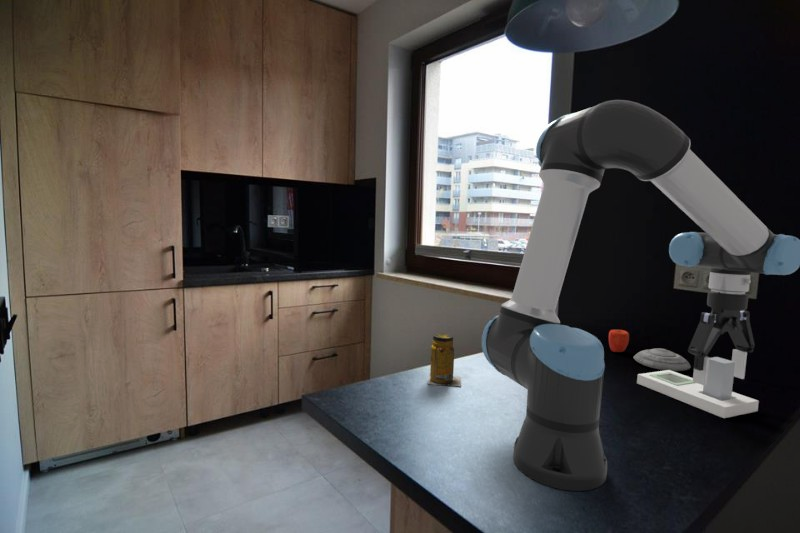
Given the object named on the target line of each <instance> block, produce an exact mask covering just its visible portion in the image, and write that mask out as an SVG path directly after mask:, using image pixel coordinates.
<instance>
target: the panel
mask: <svg viewBox="0 0 800 533" xmlns="http://www.w3.org/2000/svg"><path fill="white" fill-rule="evenodd" d="M636 384H638V385H641V386H643V387H646V388H648V389H650V390H652V391H655V392H658V393H660V394H663V395H666V396H667V397H670V398H673V399H675V400H678V401H680V402H683V403H685V404H686V405H687V404H688V405H689V406H692V407H694V408H698V409H700V410H702V411H704V412H707V413H709V414H712V415H714V416H717V417H719V418H723V419H726V418H732V417H737V416H740V415H746V414H751V413H756V412H758V411H759V403H760V401H759V400H758V399H755V398H752V397H749V396H746V395H743V394H740V393H737V392H735V391H732V396H731V399H729V400H724V401H721V400H718V399H715V398H712V397H710V396H707V395H704V394H703V385H701V384H698V383H696V382H693V377H690V376H689V375H686V374H685V375H684V374H682V373H679V372H678V371H671V370H660V371H659V370H658V371H652V372H651V371H650V372H646V373H645V372H643V373H638V374H637V378H636Z"/></svg>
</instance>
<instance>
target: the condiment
mask: <svg viewBox="0 0 800 533" xmlns="http://www.w3.org/2000/svg"><path fill="white" fill-rule="evenodd" d="M430 353H431V354H430V368H429V369H430V374H428V381H427V384H428V385H435V386H452V387H462V376H455V375H454V370H455V369H454V367H455V365H454V364H455V346H454V336H453V335H450V334H448V333H437V334H434V335H433V337H432V345H431V348H430Z"/></svg>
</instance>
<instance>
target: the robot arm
mask: <svg viewBox="0 0 800 533" xmlns="http://www.w3.org/2000/svg"><path fill="white" fill-rule="evenodd" d="M535 156H536V159H537V160H538V165H539V167H540V170H539V174H538V175H539V178H540V180H541V181H542V182H543V188H542V191H541V193H540V198H539V201H538V204H537V208H536V212H535V215H534V218H533V222H532V226H531V230H530V233H529V237H528V240H527V244H526V247H525V251H524V252H523V257H522V261H521V264H520V267H519V271H518V274H517V277H516V281H515V285H514V287H513V288H514V289H513V292H512V295H511V298H510V299H509V300H507V301H505V302H503V303H502V304H501V306H500V309H499V313H498V315H495V316H494V317H493V318H492V319H491V320H489V321H488V322H487V324H486V325H485V327H484V328H483V332H482V333H481V334H482V335H481V348H482V349H481V350H482V353H483V355H484V357H485V359H486V361H487V362H488V363H489V364H490V365H491V366H492V367H493V368H494V369H495V370H496V371H497V372H498V373H499V374H501V375H503V376H506V377H507V378H509V379H510V380H512V381H513V382H515V383H517V384H518V385H520V387H523V388H525V389H526V390H527V394H526V411H525V412H526V413H525V417H524V420H523V422H522V425H521V428H520V432H519V434H518V436H517V437H516V438H515V440H514V444H513V455H512V459H513V462H514V464H515V466H516V467H517V468H518V470H520V471H521V472H522V473H523V474H524V475H526V476H527V477H529V478H530V479H531V480H534V481H535V482H538V483H540V484H543V485H546V486H548V487H551V488H556V489H559V490H565V491H576V492H580V491H590V490H594V489H596V488H600V486H602V485H603V484H605V482H606V480H607V477H608V476H607V475H608V460H607V457H606V455H605V453H604V447H603V442H602V438H601V434H600V430H599V427H600V415H601V413H600V412H601V405H602V395H603V386H604V384H603V383H604V376H605V375H604V374H605V368H606V364H605V360H604V359H605V351H604V345H603V344H602V342H601V340H600V339H598V337H597V336H596V335H594V334H591V333H590V332H588V331H586V330H583V329H581V328H577V327H570V326H569V325H565V324H561V321H560V319H559V317H558V315H557V313H556V308H557V305H558V303H559V302H558V301H559V297H560V295H561V291H562V287H563V284H564V281H565V276H566V273H567V270H568V267H569V263H570V259H571V256H572V252H573V250H574V246H575V242H576V239H577V237H578V233H579V229H580V225H581V221H582V219H583V215H584V212H585V208H586V206H587V205H586V204H587V201H588V197H589V195H590V194H591V193H592V192H593V191H595V190H597V189H599V188H600V186H601V184H602V179H603V176H604V173H605V170H608V169H609V170H610V169H622V170H626V171H628V172H630V173H631V174H633V175H634V176H635V177H636V178H637V179H638V180H640V181H643V182H650V183H652V184H653V185H654V186H655V187H656V188H657V189H659V190H660V191H661V193H662V194H664V195H665V197H667V198H668V199H669V200H671V201H672V203H673V204H674V205H676V206H677V208H679V209H680V210H681V211H682V212H684V213H685V215H686V216H688V218H690V219H691V220H692V221H693V222H694V223H695V224H696V225H697V226H698V227H700V229H701V230H703V231H704V232H699V231H698V232H697V231H689V232H681V233H678V234H676V235H675V236H674V237H673V238H672V239H671V241H670V243H669V247H668V253H669V258H670V259H671V260H672V262H673V263H675V264H676V265H678V266H682V267H688V268H694V267H699V268H709V270H710V271H709V278H708V289H710V290H709V291H708V292H707V297H706V298H707V299H706V305H707V307H709V308H711V312H709V313H708V312H704V311H703V312H701V314H700V319H699V323H698V325H697V328H696V330H695V332H694V334H693V337H692V339H691V341H690V343H689V346H688V348H687V352H688V353H690V354H691V355H694V360H693V373H692V374H693V375H692V378H693V382H696V383H698V384H701V385H704V386H705V385H707V376H708V366H709V358H710V357H709V356H708V354H709V353H710V352H711V350H712V348H713V346H714V345H715V344H716V343H717V341H718V338H720V336H721V335H724V333H727V332H728V334H729V335H728V336H730V338H731V341H732V343H733V345H734V347H735V349H734V348H733V349H732V356H731V361H734V362H735V369H734V378H738V379H741V380H745V376H746V366H747V356H748V353H753V352H754V348H755V340H754V339H755V338H754V337H753V336H754V335H753V330H752V326H751V322H750V317H751V316H750V311H749V310H747V309H748V304H749V303H748V302H749V295H748V294H747V292H749V291H750V283H752V281H751V274H752V273H757V274H764V275H766V276H769V275H778V276H781V275H782V276H786V275H791V274H793V273H795V272H796V271H797V270H798V269H799V268H800V239H799V238H798V237H796V236H793V235H785V234H784V233H780V234H774V233H773V232H772V231H771V230H770V229H769V228H768V227H767V225H765V224H764V223H763V222H762V221H761V219H759V217H757V216H756V214H755V213H754V212H752V210H751V209H750V208H748V206H747V205H746V204H745V203H744V202H743V201H741V199H739V198H738V196H737V195H736V194H735V193H734V192H733V191H732V190H731V189H730V188H729V187H728V186H727V185H726V184H725V182H723V181H722V180H721V179H720V178H719V177H718V176H717V175H716V174H715V173H714V172H713V171H712V170H711V169H710V168H709V167H708V166H707V165H706V164H705V163H704V161H702V159H700V157H698V156H697V155H696V153H694V152H693V151H692V149H691V139H690V138H689V136H688V135H687V134H686V133H685V132H684V131H683V130H682V129H681V128H679V126H677V125H676V124H675V123H674V122H672V121H671V120H670V119H668V117H666V116H664V115H662V114H661V113H660V112H658V111H656V110H655V109H652V108H651V107H649V106H646V105H644V104H641V103H639V102H635V101H631V100H626V99H612V100H606V101H603V102H601V103H598V104H597V105H594V106H592V107H588V108H586V109H583V110H580V111H577V112H571V113H567V114H564V115H562V116H560V117H558V118H557V119H555V120H553V121H552V122H550V123H549V124H547V126H546V127H545V128H544V129H543V130H542V131H541V133H540V135H539V136H538V138H537V142H536V146H535Z"/></svg>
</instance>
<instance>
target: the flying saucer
mask: <svg viewBox="0 0 800 533" xmlns="http://www.w3.org/2000/svg"><path fill="white" fill-rule="evenodd" d="M633 359H634V360H635V361H636V363H638V364H641V365H643V366H645V367H649V368H652V369H655V370H660V371H665V370H671V371H674V372H683V371H688V370H690V369H691V368H692V366H691V364H690V363H689V361H688V360H687V358H686V359H685V358H684V357H683V356H682V355H680V354H678V353H675V352H674V351H671V350H668V349H666V348H660V347H659V348H658V347H657V348H651V349H644V350H640V351H639V352H637V353H636V354H635V355H634V356H633Z"/></svg>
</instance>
